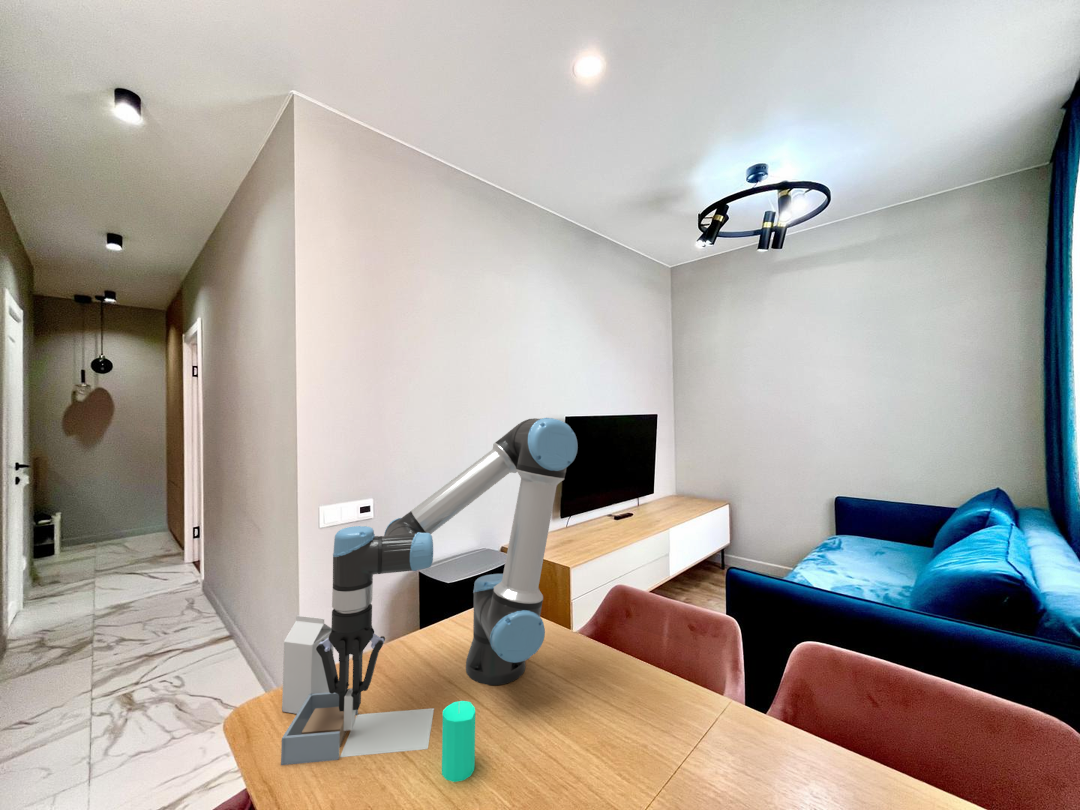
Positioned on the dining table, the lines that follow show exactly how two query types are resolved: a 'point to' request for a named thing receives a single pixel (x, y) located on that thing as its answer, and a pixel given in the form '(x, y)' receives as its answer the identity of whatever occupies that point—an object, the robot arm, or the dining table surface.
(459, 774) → the candle
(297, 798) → the dining table surface
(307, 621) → the milk carton
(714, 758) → the dining table surface
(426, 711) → the runner mat
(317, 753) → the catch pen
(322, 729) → the brown block
